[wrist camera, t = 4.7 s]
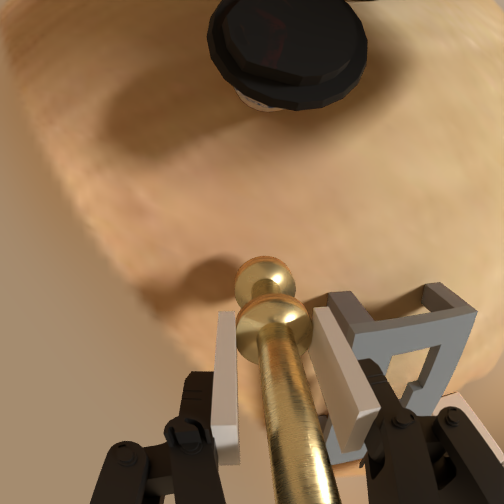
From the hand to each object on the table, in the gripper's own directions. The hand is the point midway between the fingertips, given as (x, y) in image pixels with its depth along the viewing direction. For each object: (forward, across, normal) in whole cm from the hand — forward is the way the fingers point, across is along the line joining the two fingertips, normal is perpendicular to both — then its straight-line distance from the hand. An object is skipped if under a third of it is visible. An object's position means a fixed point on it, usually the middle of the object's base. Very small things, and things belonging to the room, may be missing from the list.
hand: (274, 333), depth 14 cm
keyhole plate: (+9, +12, -12) cm, 18 cm away
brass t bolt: (+6, 0, 0) cm, 6 cm away
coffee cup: (+9, +1, +14) cm, 16 cm away
